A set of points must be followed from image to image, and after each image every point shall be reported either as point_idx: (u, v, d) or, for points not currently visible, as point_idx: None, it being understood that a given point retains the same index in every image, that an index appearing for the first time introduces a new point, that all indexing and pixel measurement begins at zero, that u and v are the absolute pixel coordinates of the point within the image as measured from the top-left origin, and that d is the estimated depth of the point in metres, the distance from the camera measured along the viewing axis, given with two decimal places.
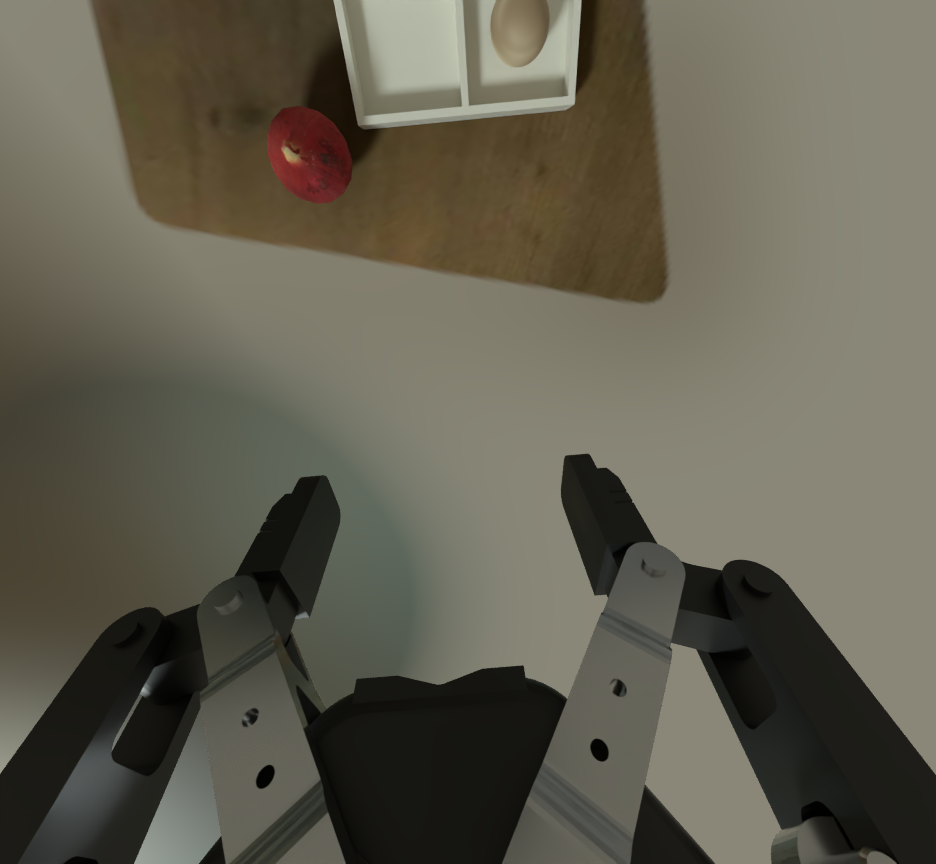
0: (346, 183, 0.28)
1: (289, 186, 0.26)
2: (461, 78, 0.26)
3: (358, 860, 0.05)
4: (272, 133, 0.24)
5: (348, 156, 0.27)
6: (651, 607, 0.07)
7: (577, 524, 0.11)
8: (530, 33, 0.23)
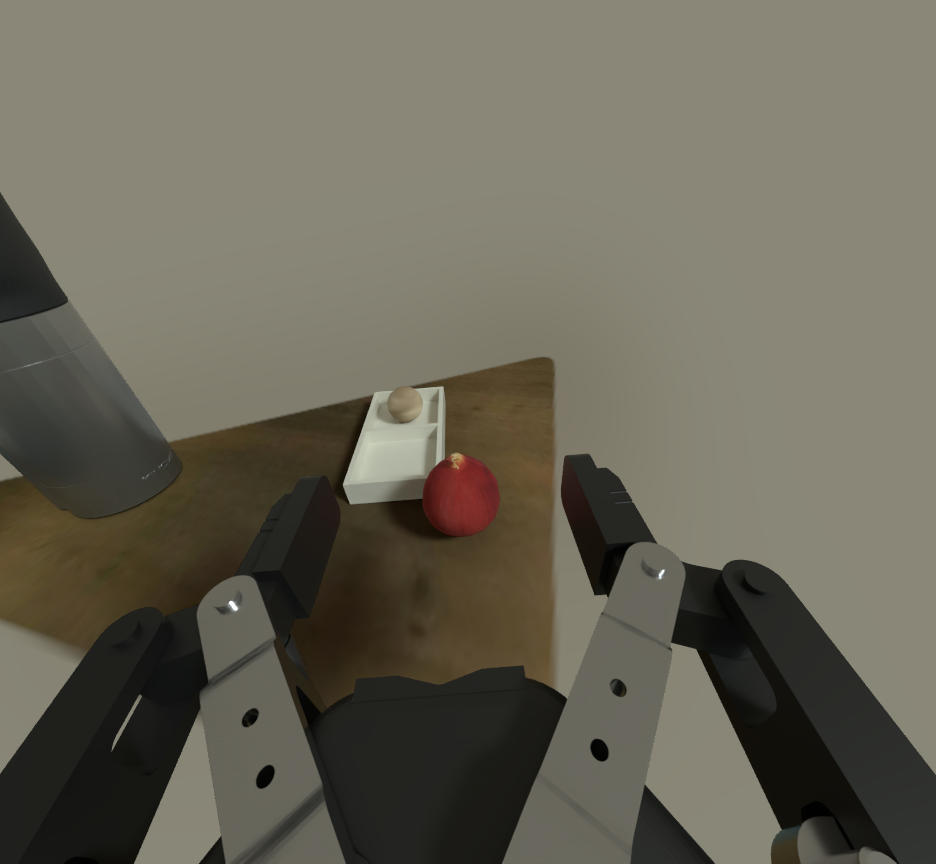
0: None
1: (483, 492, 0.25)
2: (423, 426, 0.37)
3: (358, 860, 0.05)
4: (439, 491, 0.24)
5: None
6: (651, 607, 0.07)
7: (577, 524, 0.11)
8: (410, 388, 0.40)
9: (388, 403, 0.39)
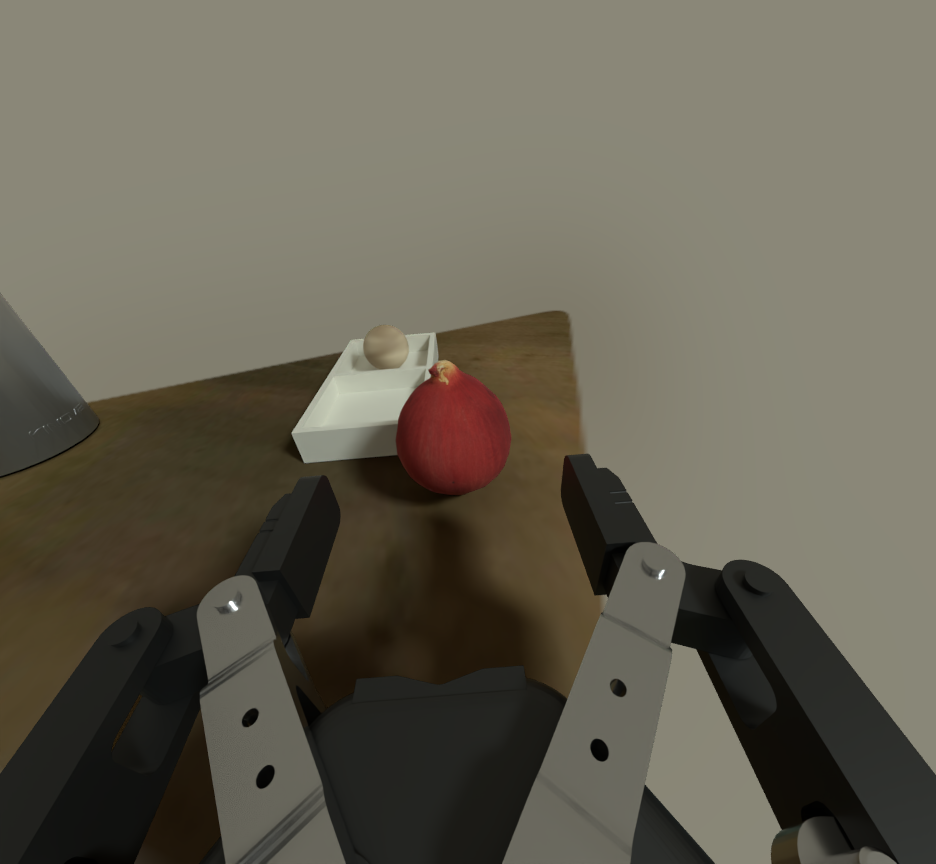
0: None
1: (487, 420, 0.16)
2: (407, 369, 0.29)
3: (358, 860, 0.05)
4: (419, 419, 0.16)
5: None
6: (651, 607, 0.07)
7: (577, 524, 0.11)
8: (392, 326, 0.31)
9: (364, 345, 0.31)
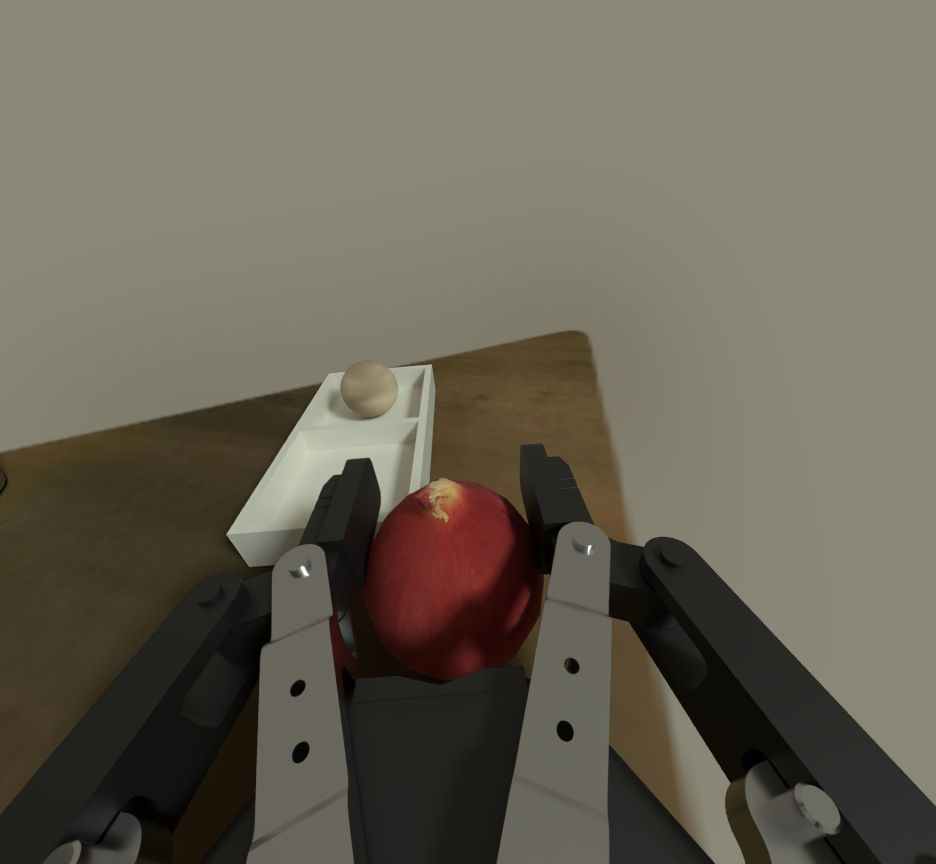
0: None
1: (512, 579, 0.10)
2: (394, 422, 0.22)
3: None
4: (399, 579, 0.09)
5: None
6: (587, 581, 0.08)
7: (529, 509, 0.11)
8: (376, 362, 0.25)
9: (341, 387, 0.25)
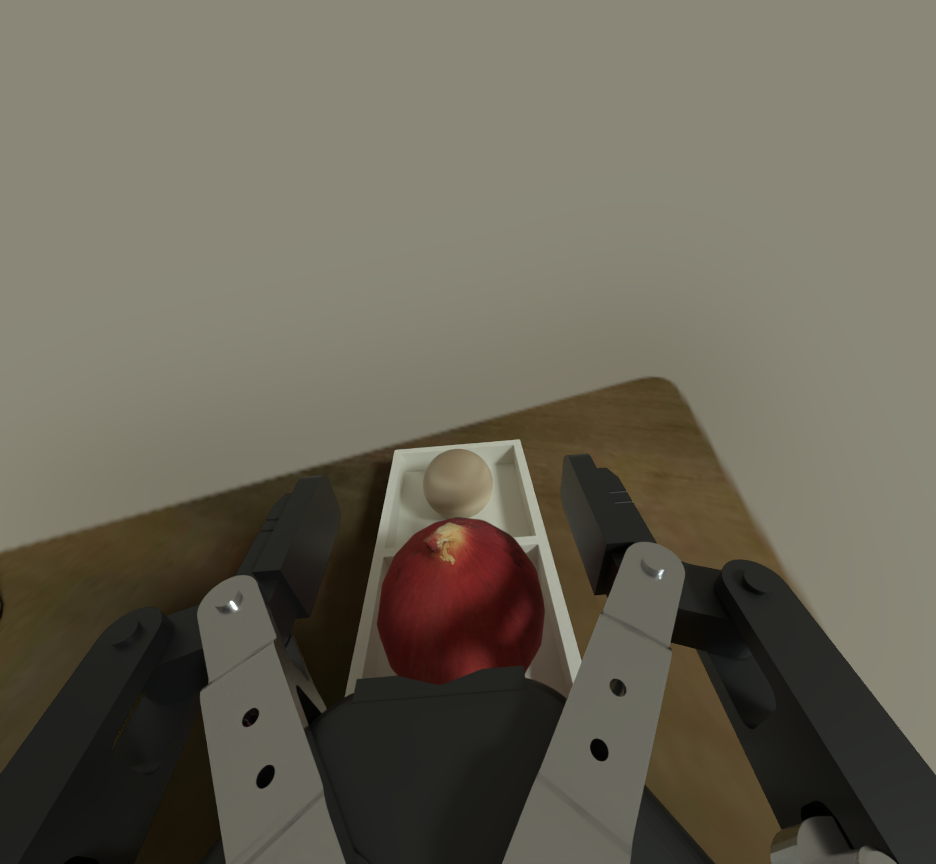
0: None
1: (514, 616, 0.10)
2: None
3: (358, 860, 0.05)
4: (410, 617, 0.10)
5: None
6: (650, 607, 0.07)
7: (577, 524, 0.11)
8: (469, 453, 0.20)
9: (426, 486, 0.19)
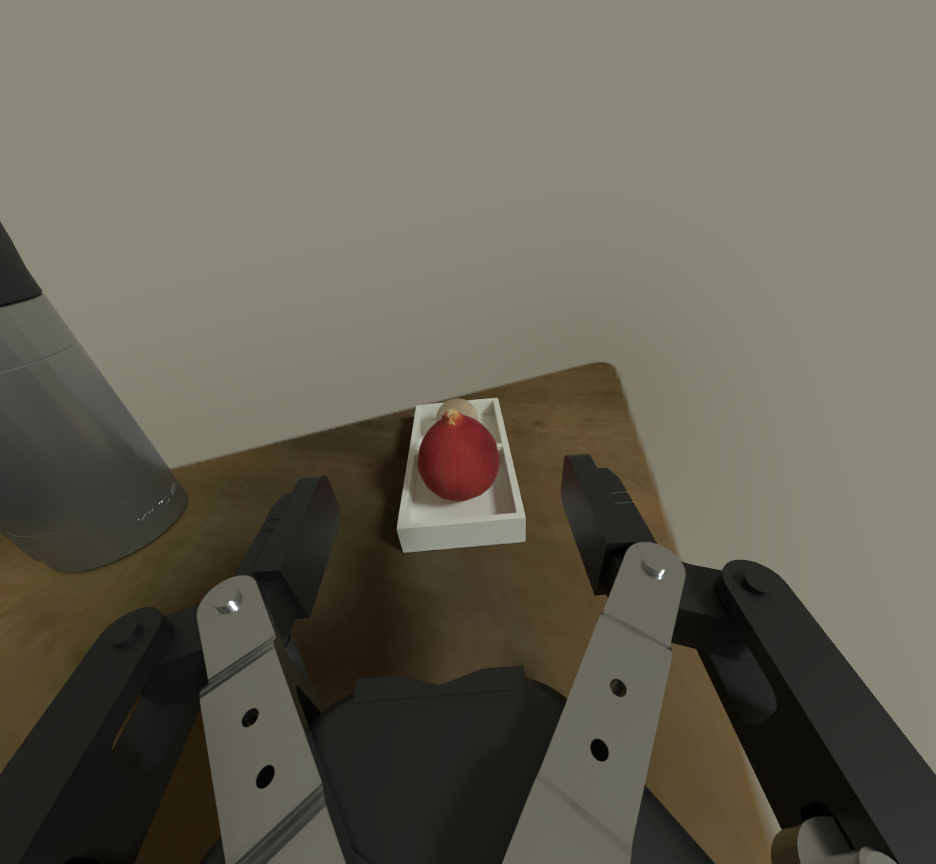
0: None
1: (481, 449, 0.23)
2: None
3: (358, 860, 0.05)
4: (435, 449, 0.23)
5: None
6: (650, 607, 0.07)
7: (577, 524, 0.11)
8: (464, 400, 0.33)
9: (438, 419, 0.32)
